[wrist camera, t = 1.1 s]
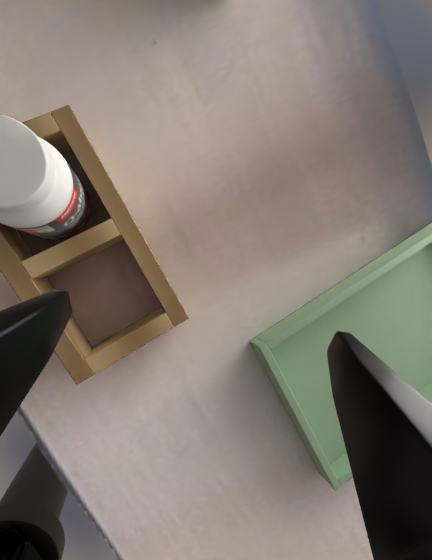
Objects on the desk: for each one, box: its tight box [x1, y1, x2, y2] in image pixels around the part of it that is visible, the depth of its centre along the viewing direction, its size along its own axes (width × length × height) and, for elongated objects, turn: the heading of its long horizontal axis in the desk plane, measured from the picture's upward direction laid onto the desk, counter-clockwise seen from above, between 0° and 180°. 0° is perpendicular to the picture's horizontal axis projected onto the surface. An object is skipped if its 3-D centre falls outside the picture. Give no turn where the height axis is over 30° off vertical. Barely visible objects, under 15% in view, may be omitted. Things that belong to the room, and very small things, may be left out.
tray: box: [250, 223, 432, 491], centre depth 31 cm, size 28×18×2 cm, turn 119°
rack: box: [0, 105, 189, 384], centre depth 22 cm, size 10×18×4 cm, turn 29°
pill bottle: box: [0, 114, 91, 240], centre depth 19 cm, size 6×6×10 cm
